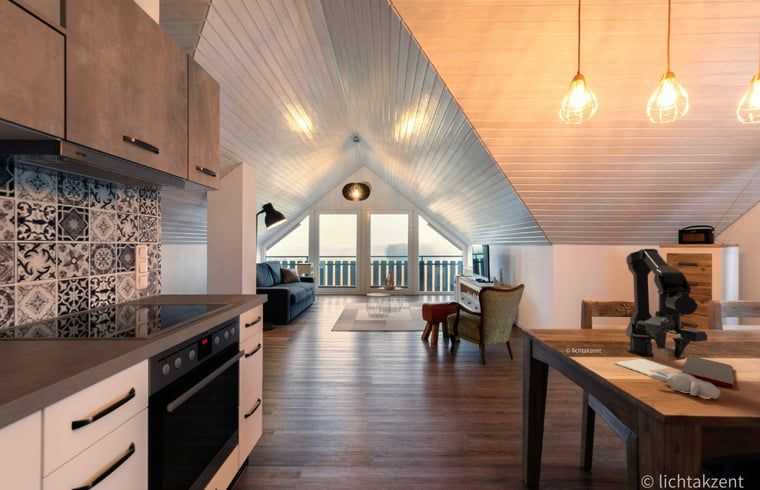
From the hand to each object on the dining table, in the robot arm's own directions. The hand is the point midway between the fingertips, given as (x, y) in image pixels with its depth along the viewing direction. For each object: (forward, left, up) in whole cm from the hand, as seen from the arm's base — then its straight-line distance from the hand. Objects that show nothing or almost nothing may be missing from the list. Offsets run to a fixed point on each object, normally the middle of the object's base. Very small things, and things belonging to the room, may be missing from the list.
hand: (669, 355), depth 119 cm
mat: (-4, -2, -6) cm, 8 cm away
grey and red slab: (+3, +13, -6) cm, 15 cm away
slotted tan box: (0, 0, -1) cm, 1 cm away
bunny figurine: (+12, -10, -6) cm, 17 cm away
